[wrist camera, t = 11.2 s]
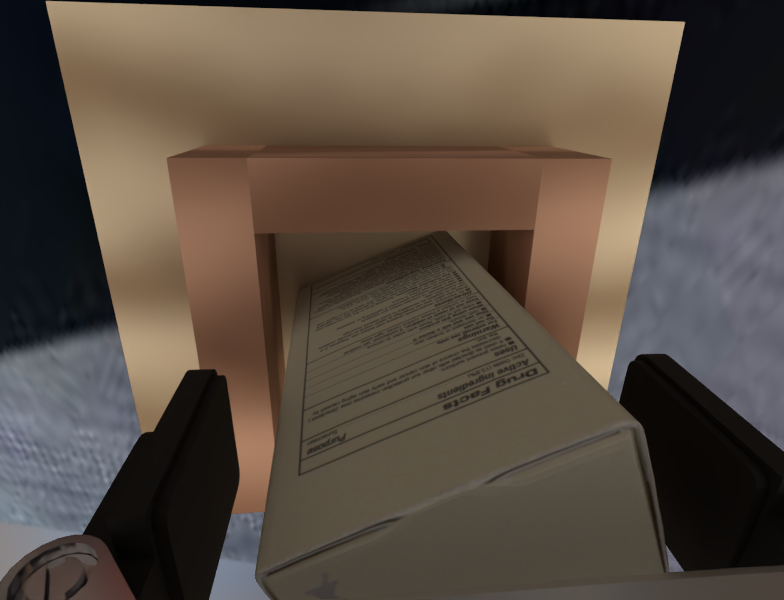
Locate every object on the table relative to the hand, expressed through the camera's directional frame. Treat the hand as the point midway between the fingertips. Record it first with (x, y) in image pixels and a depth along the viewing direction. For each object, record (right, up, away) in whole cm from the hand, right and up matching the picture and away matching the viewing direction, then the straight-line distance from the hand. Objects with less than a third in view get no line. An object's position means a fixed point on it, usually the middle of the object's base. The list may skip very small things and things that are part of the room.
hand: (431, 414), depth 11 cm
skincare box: (-1, +3, +8) cm, 8 cm away
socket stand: (-1, +3, +9) cm, 9 cm away
